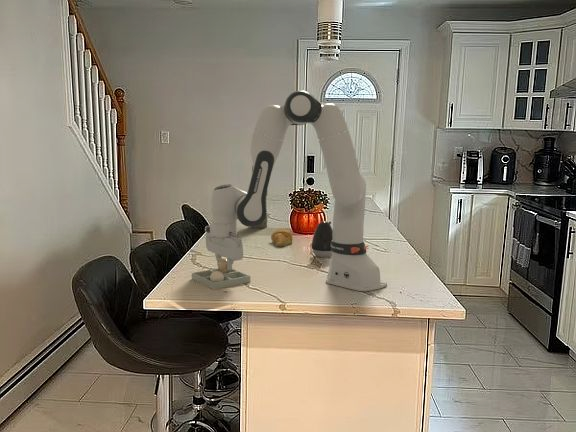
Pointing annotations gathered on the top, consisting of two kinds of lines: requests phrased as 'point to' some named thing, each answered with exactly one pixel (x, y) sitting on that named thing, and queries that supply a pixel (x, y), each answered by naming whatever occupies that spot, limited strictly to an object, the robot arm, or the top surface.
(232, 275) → the carton
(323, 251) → the pump dispenser
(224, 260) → the brown egg
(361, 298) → the top surface
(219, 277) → the pale egg
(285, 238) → the croissant
